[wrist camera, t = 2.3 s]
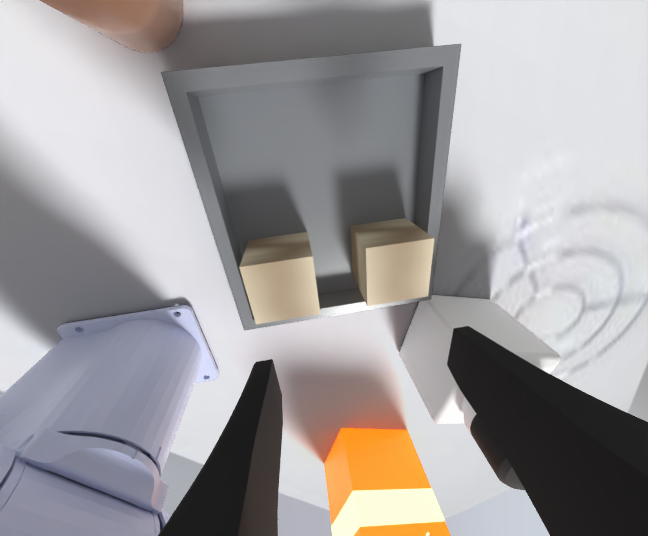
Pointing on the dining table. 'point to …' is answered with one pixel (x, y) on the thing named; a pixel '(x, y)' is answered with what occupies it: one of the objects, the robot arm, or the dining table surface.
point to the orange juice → (380, 486)
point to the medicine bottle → (435, 377)
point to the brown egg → (128, 20)
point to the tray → (318, 155)
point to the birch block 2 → (391, 260)
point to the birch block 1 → (280, 278)
